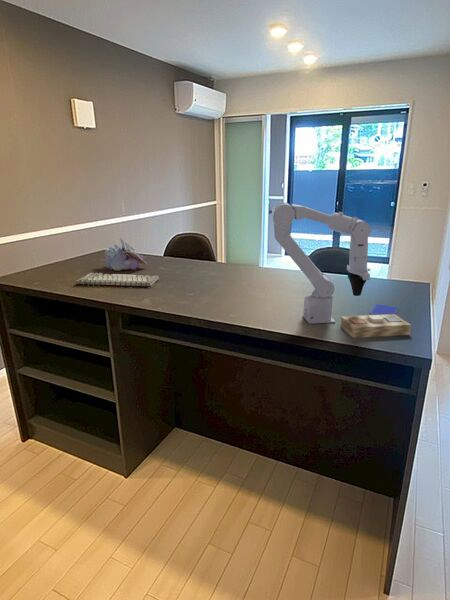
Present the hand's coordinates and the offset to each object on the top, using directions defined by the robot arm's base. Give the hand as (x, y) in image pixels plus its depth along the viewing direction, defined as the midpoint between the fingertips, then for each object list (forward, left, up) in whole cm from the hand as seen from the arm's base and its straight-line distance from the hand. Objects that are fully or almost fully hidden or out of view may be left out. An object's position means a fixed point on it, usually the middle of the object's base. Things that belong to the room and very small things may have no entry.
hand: (356, 295), depth 133 cm
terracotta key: (-3, -9, -8) cm, 13 cm away
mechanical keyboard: (-90, +63, -10) cm, 111 cm away
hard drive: (+15, +6, -10) cm, 19 cm away
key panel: (+3, -9, -9) cm, 14 cm away
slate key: (+9, -9, -8) cm, 15 cm away
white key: (+3, -9, -7) cm, 12 cm away
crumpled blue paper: (-90, +93, -10) cm, 130 cm away
